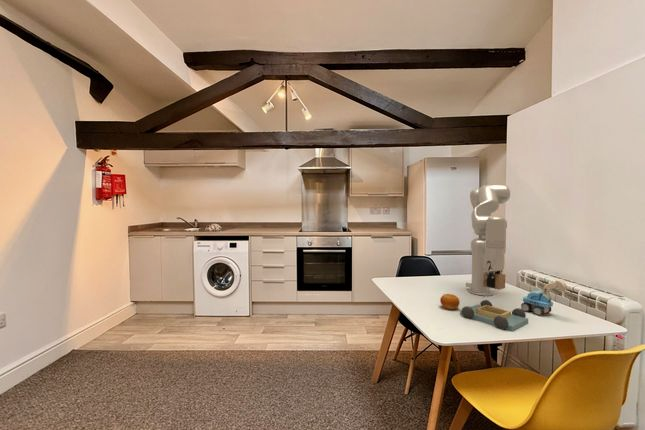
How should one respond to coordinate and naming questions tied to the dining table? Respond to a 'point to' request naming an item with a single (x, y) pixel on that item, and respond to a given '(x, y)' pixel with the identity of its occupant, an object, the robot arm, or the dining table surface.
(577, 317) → the dining table surface
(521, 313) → the chassis
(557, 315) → the dining table surface
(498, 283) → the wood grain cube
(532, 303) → the toy excavator
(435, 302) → the dining table surface
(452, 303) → the fruit
